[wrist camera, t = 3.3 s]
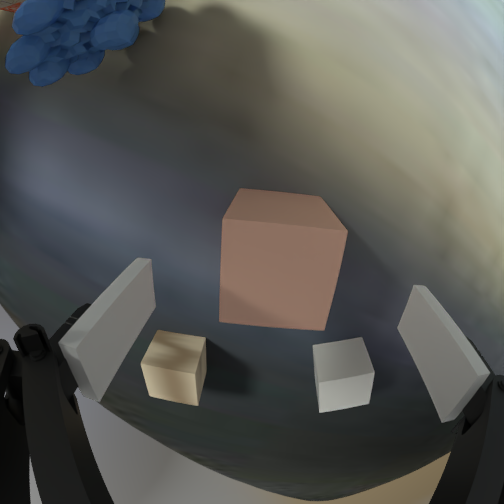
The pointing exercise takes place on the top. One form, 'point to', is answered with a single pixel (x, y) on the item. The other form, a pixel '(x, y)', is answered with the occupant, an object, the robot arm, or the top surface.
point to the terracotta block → (279, 260)
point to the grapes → (73, 34)
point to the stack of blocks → (10, 5)
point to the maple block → (175, 367)
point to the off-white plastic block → (342, 374)
